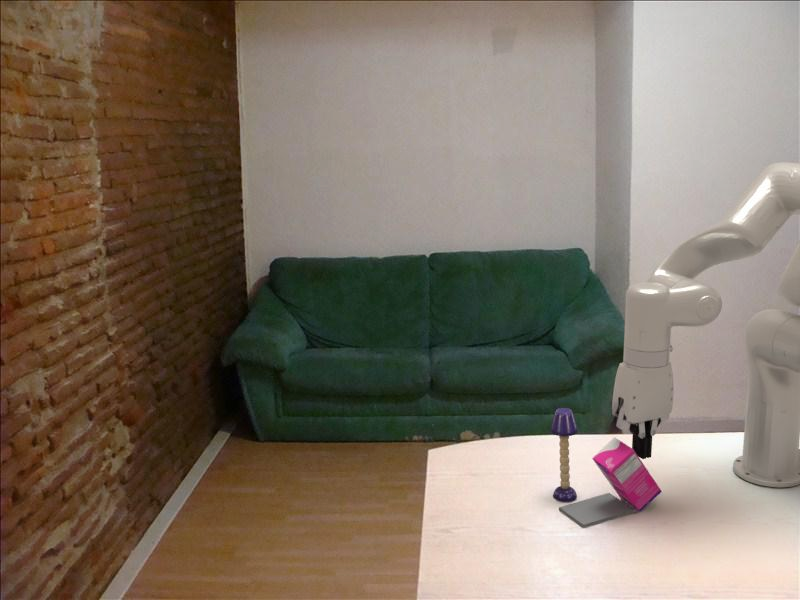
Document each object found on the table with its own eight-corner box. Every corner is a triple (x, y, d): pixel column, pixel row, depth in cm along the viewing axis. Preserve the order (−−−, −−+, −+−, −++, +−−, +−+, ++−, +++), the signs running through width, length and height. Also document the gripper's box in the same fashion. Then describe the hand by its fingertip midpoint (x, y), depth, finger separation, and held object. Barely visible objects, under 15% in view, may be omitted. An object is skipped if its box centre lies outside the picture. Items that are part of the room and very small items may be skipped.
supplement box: (619, 499, 157) (590, 457, 152) (643, 477, 158) (615, 435, 153) (638, 514, 152) (609, 470, 147) (663, 491, 152) (635, 447, 148)
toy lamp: (547, 499, 157) (548, 413, 153) (554, 488, 162) (555, 404, 157) (573, 504, 156) (575, 417, 151) (579, 492, 160) (581, 407, 155)
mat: (609, 495, 158) (609, 492, 158) (634, 512, 152) (635, 509, 152) (559, 510, 154) (559, 507, 153) (583, 528, 147) (583, 524, 147)
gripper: (665, 343, 154) (659, 439, 159) (596, 356, 148) (593, 456, 153) (696, 354, 148) (689, 454, 152) (625, 369, 141) (621, 473, 146)
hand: (641, 455), depth 152 cm, fingers closed
